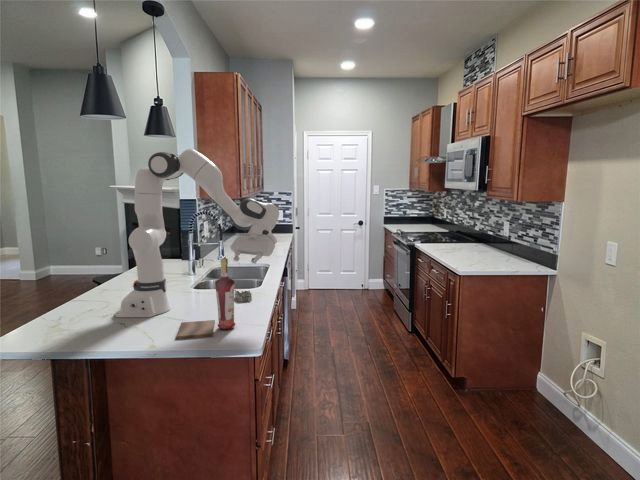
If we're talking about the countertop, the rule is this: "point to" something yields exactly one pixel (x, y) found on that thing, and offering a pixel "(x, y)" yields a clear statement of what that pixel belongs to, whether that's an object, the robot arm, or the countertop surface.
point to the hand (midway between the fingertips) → (244, 261)
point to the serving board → (195, 329)
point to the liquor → (225, 298)
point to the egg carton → (243, 296)
